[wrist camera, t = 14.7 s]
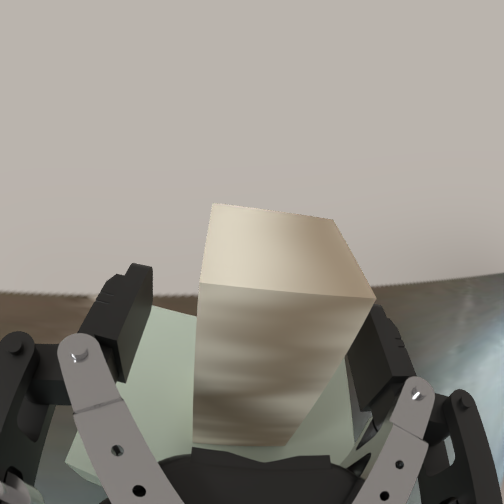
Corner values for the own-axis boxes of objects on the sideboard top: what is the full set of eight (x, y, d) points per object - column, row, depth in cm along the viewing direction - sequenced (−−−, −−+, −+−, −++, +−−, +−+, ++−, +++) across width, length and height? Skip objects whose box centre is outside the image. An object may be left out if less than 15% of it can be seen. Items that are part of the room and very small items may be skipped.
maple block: (192, 442, 12) (199, 282, 7) (197, 370, 16) (212, 202, 11) (284, 445, 13) (376, 298, 7) (276, 376, 16) (332, 219, 11)
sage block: (86, 480, 11) (64, 462, 9) (143, 340, 21) (141, 302, 19) (325, 525, 12) (358, 515, 9) (322, 377, 22) (342, 345, 20)
